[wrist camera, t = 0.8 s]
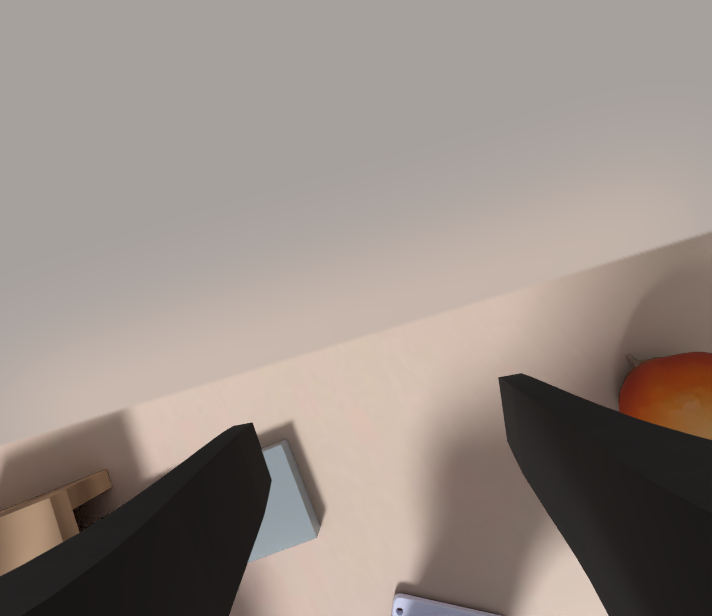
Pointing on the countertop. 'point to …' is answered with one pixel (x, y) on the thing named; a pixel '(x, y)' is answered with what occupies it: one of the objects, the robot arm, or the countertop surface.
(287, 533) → the tile
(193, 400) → the countertop surface
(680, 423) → the fruit
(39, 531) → the brown wooden block
